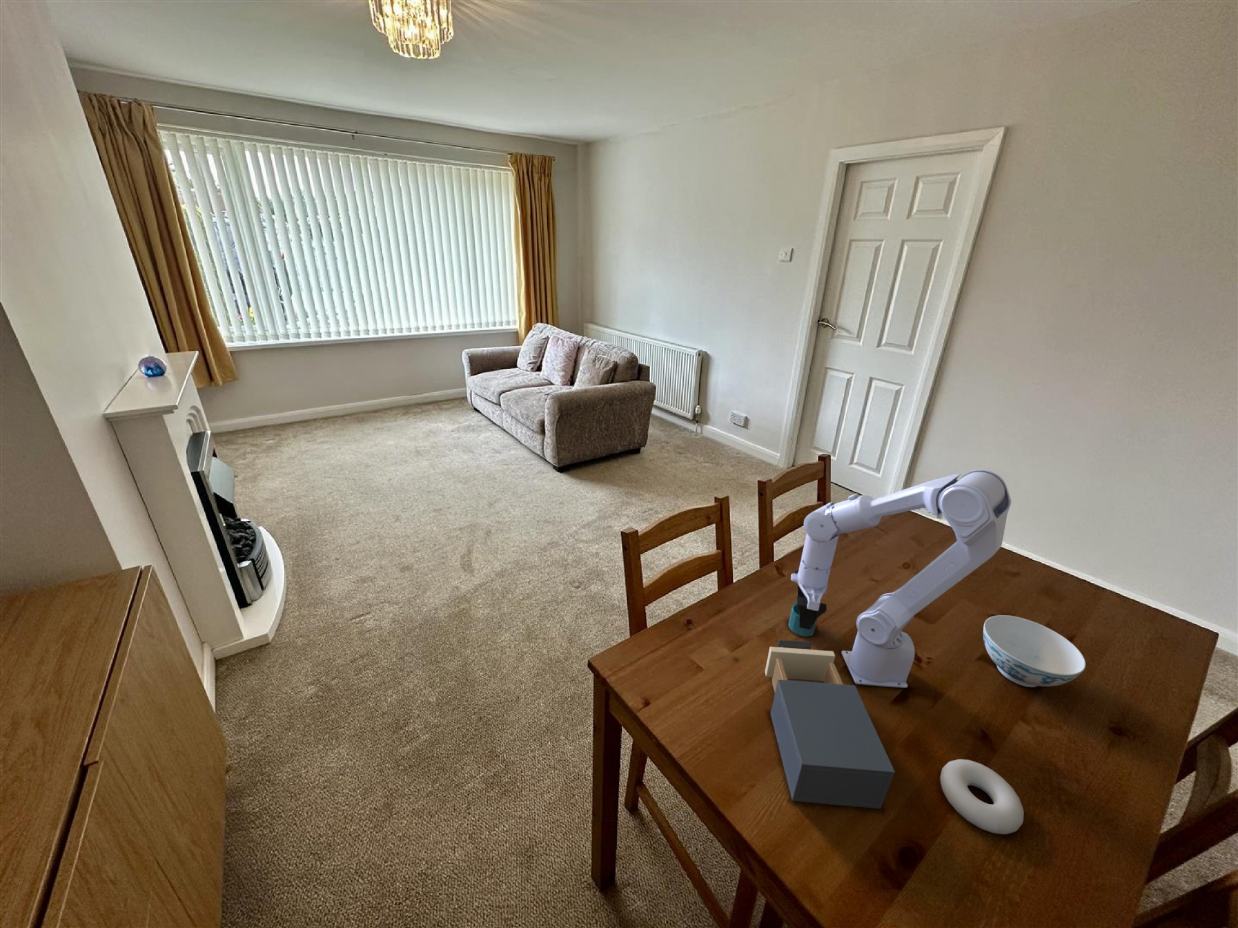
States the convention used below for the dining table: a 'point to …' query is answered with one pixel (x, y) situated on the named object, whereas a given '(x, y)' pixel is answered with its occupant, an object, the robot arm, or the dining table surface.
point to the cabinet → (829, 745)
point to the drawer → (800, 663)
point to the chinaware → (1031, 652)
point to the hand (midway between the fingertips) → (803, 615)
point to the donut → (988, 817)
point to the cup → (794, 623)
